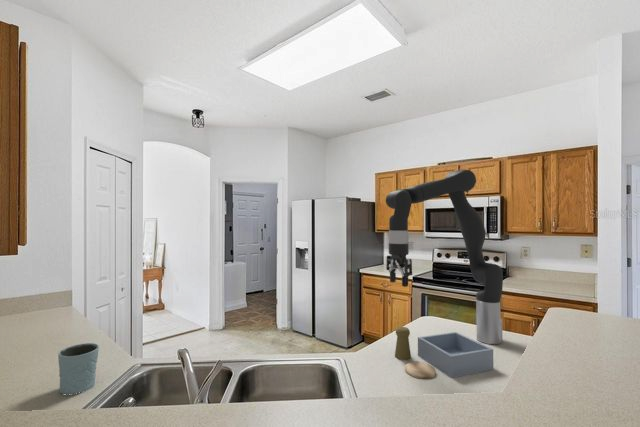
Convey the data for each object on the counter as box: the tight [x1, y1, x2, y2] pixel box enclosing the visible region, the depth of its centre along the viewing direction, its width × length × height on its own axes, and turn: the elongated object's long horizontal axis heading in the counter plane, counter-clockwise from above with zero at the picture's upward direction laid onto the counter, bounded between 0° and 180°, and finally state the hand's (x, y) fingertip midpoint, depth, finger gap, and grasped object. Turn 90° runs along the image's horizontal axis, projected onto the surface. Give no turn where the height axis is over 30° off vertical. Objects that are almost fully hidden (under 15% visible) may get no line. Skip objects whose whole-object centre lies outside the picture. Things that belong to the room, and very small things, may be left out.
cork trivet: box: [404, 361, 437, 380], centre depth 109 cm, size 10×10×1 cm
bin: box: [417, 331, 494, 379], centre depth 116 cm, size 18×18×7 cm
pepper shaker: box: [394, 326, 412, 361], centre depth 121 cm, size 6×6×11 cm
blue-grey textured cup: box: [57, 342, 100, 395], centre depth 99 cm, size 10×10×12 cm
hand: (398, 284), depth 122 cm, fingers open, 8 cm apart
